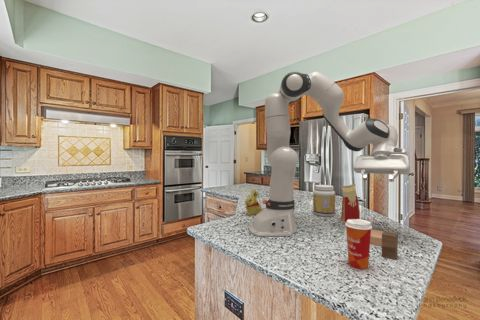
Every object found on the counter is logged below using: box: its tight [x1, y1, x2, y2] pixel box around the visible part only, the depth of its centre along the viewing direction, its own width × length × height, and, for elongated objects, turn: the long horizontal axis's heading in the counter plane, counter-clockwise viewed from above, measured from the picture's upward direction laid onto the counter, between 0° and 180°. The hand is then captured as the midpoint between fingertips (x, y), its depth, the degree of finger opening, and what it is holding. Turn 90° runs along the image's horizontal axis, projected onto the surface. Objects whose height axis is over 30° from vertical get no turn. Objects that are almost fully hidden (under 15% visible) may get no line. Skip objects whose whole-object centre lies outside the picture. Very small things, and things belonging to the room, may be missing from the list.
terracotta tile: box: [370, 228, 385, 247], centre depth 96 cm, size 10×10×3 cm
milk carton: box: [340, 183, 361, 224], centre depth 124 cm, size 9×9×20 cm
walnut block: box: [381, 230, 399, 261], centre depth 82 cm, size 4×4×8 cm
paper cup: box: [344, 218, 373, 270], centre depth 75 cm, size 8×8×14 cm
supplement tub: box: [312, 184, 336, 218], centre depth 138 cm, size 12×12×17 cm
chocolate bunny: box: [244, 188, 263, 216], centre depth 138 cm, size 7×11×15 cm, turn 112°
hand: (377, 180), depth 94 cm, fingers open, 8 cm apart
